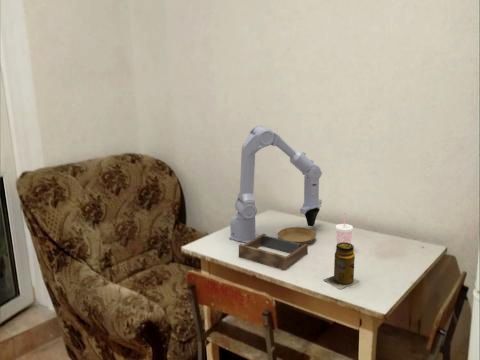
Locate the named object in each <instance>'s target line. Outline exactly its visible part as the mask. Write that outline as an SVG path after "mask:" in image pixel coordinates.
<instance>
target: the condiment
mask: <svg viewBox="0 0 480 360" xmlns="http://www.w3.org/2000/svg"><path fill="white" fill-rule="evenodd" d="M335 247H336V248H335V252H334V263H333V265H334V266H333V271H334V272H333V275H332V276H330V277H327V278H324V279H323V281H324V282H327V283H328V284H330V285H332V287H335V288H336V289H339V290H342V289H345V288H347V287H349V286H352V285H355V284H357V283H359V282H360V280H358V279H356V278H354V277H355V255H356V254H355V252H354V251H355V250H354V249H355V247H354V245H353V244H352V243H351V244H350V243H346V242H342V243H338V244H337V243H336V246H335Z"/></svg>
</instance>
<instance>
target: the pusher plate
mask: <svg viewBox="0 0 480 360" xmlns="http://www.w3.org/2000/svg"><path fill="white" fill-rule="evenodd" d="M261 235H262V234H261ZM261 246H263V247H267V248H269V249H274V250H277V251H281V252H285V253H289V254H291V253H292V252H294V251H295V250H296V249H298V248H299V247H301V246H302V245H301V244H299V243H295V242H291V241H287V240H283V239H280V238H279V237H273V236H271V235H270V236H269V235H267V234H266V235H262V245H261Z"/></svg>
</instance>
